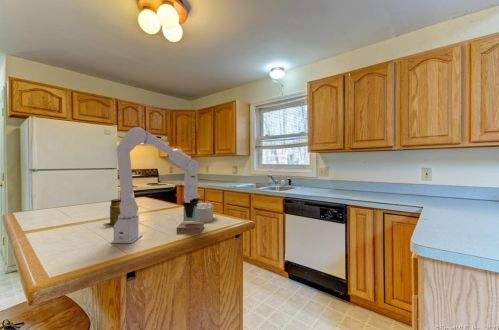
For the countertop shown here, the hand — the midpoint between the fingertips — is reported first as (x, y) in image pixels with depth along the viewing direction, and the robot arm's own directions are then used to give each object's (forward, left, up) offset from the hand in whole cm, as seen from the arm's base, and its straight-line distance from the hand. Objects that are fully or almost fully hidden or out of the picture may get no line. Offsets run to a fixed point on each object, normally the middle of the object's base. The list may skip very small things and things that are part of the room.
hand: (190, 216), depth 107 cm
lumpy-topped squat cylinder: (+20, -2, -7) cm, 21 cm away
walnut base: (0, 0, -7) cm, 7 cm away
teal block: (0, 0, -2) cm, 2 cm away
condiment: (+10, +39, -7) cm, 41 cm away
